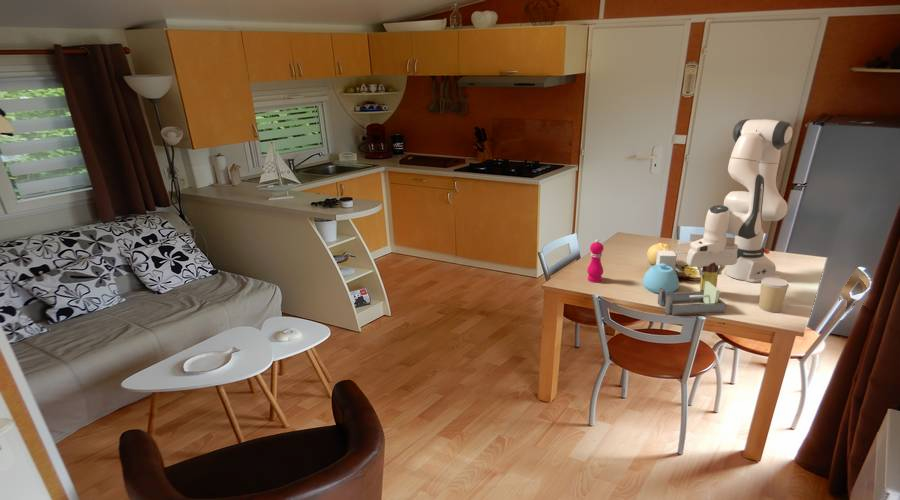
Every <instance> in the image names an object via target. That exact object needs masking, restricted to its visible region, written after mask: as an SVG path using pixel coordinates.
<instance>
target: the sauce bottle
mask: <svg viewBox="0 0 900 500" xmlns="http://www.w3.org/2000/svg"><path fill="white" fill-rule="evenodd" d="M718 269H719V266H716V264H715V262H714V263H711V264H710V265H709V266H703V267H702V269H701V270H702V271H703V272H704V275H703V276H700V286H699V291H704V288H705V281H709V282H710V283H711V284H712V285H714V286H715V287H716V288H717V285H718V284H717V283H718V276H719V275H718Z"/></svg>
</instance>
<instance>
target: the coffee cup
mask: <svg viewBox="0 0 900 500" xmlns="http://www.w3.org/2000/svg"><path fill="white" fill-rule="evenodd" d="M760 283H761V285H760V290H759V291H760V292H759V303H758V307H759V309H760V310H762V311H764V312H768V313H775V314H776V313H779V312H781V311H782V308H783V307H784V302H785V299H786V296H787V291H788V289H789V287H790V286H789V282H788V281H787V280H786V279H783V278H781V277H780V278H776V277H765V278H763V279H762V280H761V282H760Z"/></svg>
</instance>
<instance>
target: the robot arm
mask: <svg viewBox="0 0 900 500" xmlns="http://www.w3.org/2000/svg"><path fill="white" fill-rule="evenodd" d="M793 133H794V129H793V126H792V124H791V123H790V122H788V121H784V120H777V119H776V120H774V119H767V118H763V119H749V118H747V119H742V120H741V119H740V120H739V121H738V122H737V123H736V124H735V125H734V127H733V131H732V139H733V140H734V142H735V144H734V146H733V149H732V151H731V154H730V158H729V162H728V166H727V171H728V174H729V176H730V177H731V179H732V180H734V181H735V182H737V183H739V184H740V185H742V186H743V187H745V188H746V189H747V190H748V191H744V190H735V191H734V190H733V191H730V192H728V194H726V196H725V197H724V200H723V205H721V204H720V205H719V204H717V205H713V206H711V207H709V209H708V210H707V213H706V216H705V220H704V233H703V237H702V238H700V239H697V240H694V241H692V242H690V243H689V244H690V245H689V246H690V248H689V249H688V252H687V255H686V256H687V257H686V260H685V261H686V262H685V263H686V264H687V265H688V266H689V267H690V268H697V270H698V275H699V276H700V277H701V276H703V275H704V272H703V271H702V268H703V266H709V265H710V264H711V263H714V262H715V264H716V266H718V276H720V275H722V271H723V270H724V269H725V268H726V266H727V268H726V270H725V274H726V275H727V276H729V277H731V278H734V279H736V280H740V281H746V282H749V283H753V284H755V283H761V280H762V279H763V278H765V277H776V278H781V275H780V273H778V271H777V270H776V264H775V263H774V262H773V261H772V260H771V259H769V258H768V257H767V256H766V255H768V254H769V255H770V249H768V248H764V247H763V242H764V241H763V240H764V237H765V236H764V235H765V233H764V230H763V228H762V227H763V226H762V223H763V222H762V221H765V222H766V221H768V222H769V221H770V222H779V221H780V220H782V219H783V218H784V217H785V216H786V214H787V212H788V204H787V201H786V200H785V199H784V198H783V197H782V195H781V194H780V192H779V190H778V188H777V181H776V180H777V174H778V169H779V164H780V159H781V153H782V150H781V149H782V148H785V146H787V145H788V144H789V143H790V141H791V140H792V138H793ZM727 235H733V236H734V243H733V242H732V243H727V240H728V237H727ZM765 254H766V255H765Z"/></svg>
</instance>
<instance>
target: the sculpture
mask: <svg viewBox="0 0 900 500" xmlns="http://www.w3.org/2000/svg"><path fill="white" fill-rule="evenodd" d="M657 251H673V249H672V248H671V246H669V245H668V244H667V243H662V242H658V243H656V244H653V245H651V246H650V247H649V248H648V250H647V253H646V259H647V261H648V263H650V264H651V265H652V266H654V265H656V259H657Z"/></svg>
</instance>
